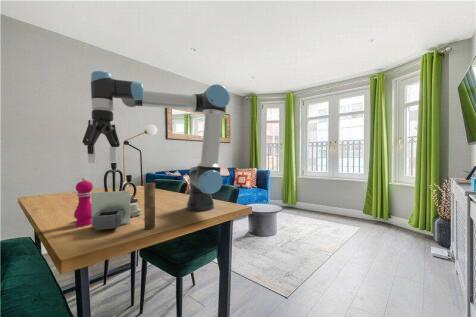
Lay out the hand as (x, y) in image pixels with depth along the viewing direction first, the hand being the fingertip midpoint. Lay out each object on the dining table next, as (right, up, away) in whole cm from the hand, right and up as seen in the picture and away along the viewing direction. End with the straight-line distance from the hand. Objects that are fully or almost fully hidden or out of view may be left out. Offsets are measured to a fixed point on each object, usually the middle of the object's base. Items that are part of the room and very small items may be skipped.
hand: (103, 162), depth 88 cm
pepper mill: (-10, -27, +3) cm, 29 cm away
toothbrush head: (-4, -27, +12) cm, 30 cm away
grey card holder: (+4, -27, -3) cm, 27 cm away
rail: (+20, -27, -2) cm, 33 cm away
